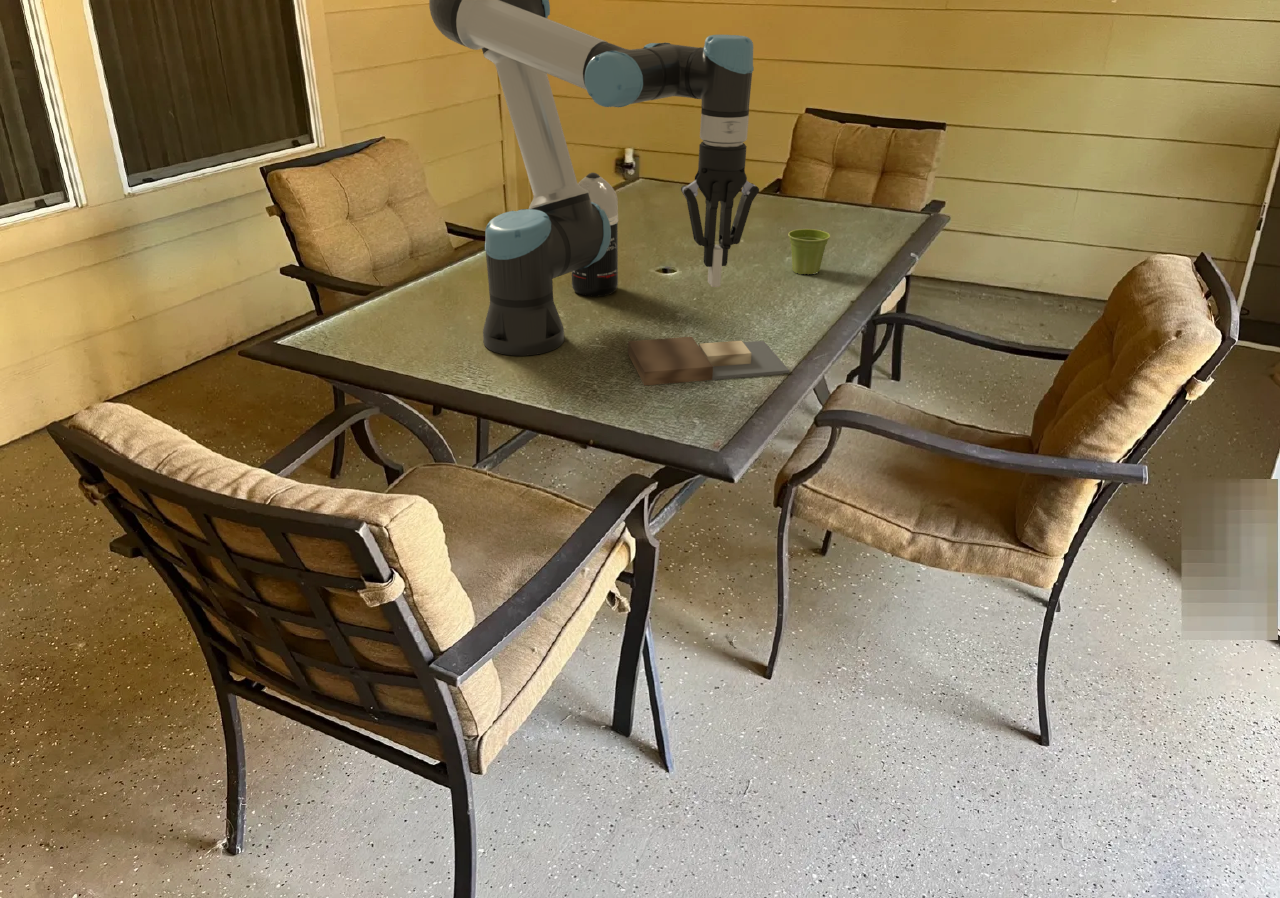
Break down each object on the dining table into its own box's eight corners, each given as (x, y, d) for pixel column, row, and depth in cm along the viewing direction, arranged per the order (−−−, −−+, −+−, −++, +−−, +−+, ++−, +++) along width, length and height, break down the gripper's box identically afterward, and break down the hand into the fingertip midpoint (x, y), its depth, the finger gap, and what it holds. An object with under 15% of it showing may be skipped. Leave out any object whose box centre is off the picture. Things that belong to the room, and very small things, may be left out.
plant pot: (808, 280, 204) (812, 242, 200) (776, 270, 211) (779, 233, 206) (834, 272, 210) (838, 235, 206) (802, 262, 216) (806, 226, 212)
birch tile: (707, 366, 160) (707, 356, 159) (698, 353, 165) (698, 343, 164) (750, 363, 162) (751, 353, 161) (740, 350, 167) (741, 340, 166)
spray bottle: (628, 290, 198) (628, 172, 186) (594, 301, 191) (592, 180, 179) (595, 279, 204) (593, 165, 192) (561, 290, 197) (557, 172, 185)
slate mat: (712, 379, 157) (712, 376, 157) (691, 349, 169) (691, 346, 169) (789, 373, 159) (789, 370, 159) (763, 343, 171) (763, 340, 171)
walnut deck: (644, 385, 155) (644, 372, 153) (627, 353, 167) (628, 341, 165) (712, 379, 157) (712, 366, 156) (691, 349, 169) (691, 336, 168)
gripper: (689, 147, 140) (682, 293, 152) (769, 145, 143) (756, 289, 154) (677, 138, 147) (671, 278, 158) (754, 136, 149) (743, 275, 161)
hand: (713, 283), depth 156 cm, fingers closed
